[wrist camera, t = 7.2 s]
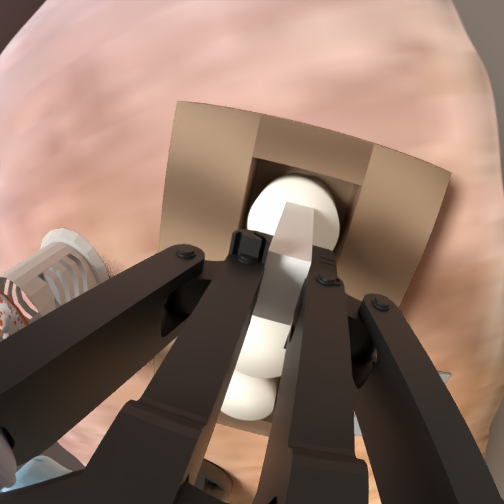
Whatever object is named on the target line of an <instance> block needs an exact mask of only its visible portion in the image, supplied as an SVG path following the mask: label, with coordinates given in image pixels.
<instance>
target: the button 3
mask: <svg viewBox="0 0 504 504" xmlns="http://www.w3.org/2000/svg"><path fill="white" fill-rule="evenodd" d="M286 201H287V202H291V203H295V204H298V205H302V206H306V207H310V208H313V209H314V220H313V242H312V245H315V246H318V247H322V248H326V249H329V250H331V251H333V249H334V247H335V246H336V243H337V241H338V237H339V219H338V214H337V209H336V204H335V201H334V198H333V196H332V194H331V192H330V190H329V189H328V188H327V186H326V185H325V184H324V183H322V182H321V181H320V180H318V179H317V178H315V177H313V176H311V175H308V174H304V173H288V174H284V175H281V176H279V177H277V178H275V179H274V180H272V181H271V182H270V183H269V184H268V185H267V186H266V187H265V188H264V190H263V191H262V192H261V194H260V195H259V196H258V198H257V199H256V201H255V202H254V204H253V205H252V207H251V210H250V212H249V216H248V222H247V228H248V230H255V231H259V232H263V233H266V234H270V235H274V233H275V231H276V228H277V225H278V222H279V220H280V217H281V214H282V211H283V209H284V206H285V203H286Z"/></svg>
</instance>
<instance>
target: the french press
mask: <svg viewBox="0 0 504 504" xmlns="http://www.w3.org/2000/svg"><path fill="white" fill-rule="evenodd" d="M7 279H9V286H8V292H7V295H5V294H4V288H5V283H6V280H7ZM108 279H109V276H108V272H107V269H106V266H105V264H104V262H103V261H102V259H101V258H100V256H99V255H98V253H97V251H96V250H95V248H94V247H93V246H92V245H91V244H90V243H89V242H88V241H86V240H85V239H84V238H83V237H82V236H81V235H80V234H78V233H76V232H73V231H71V230H68V229H66V228H60V229H54V230H51V231H50V232H49V233H48V234H47V235H46V236H45V237H44V238H43V241H42V244H41V248H40V250H39V251H37V252H35V253H34V254H32V255H31V256H29V257H27V258H26V259H24V260H23V261H21V262H20V263H18V264H17V265H15V266H14V267H12V268H10V269H9V270H8V271H6V272H5V273H3V274H2V275H0V342H1V341H2V340H4V339H5V338H7V337H9V336H10V335H12V334H14V333H15V332H17V331H19V330H20V329H22V328H24V327H26V326H27V325H29V324H31V323H32V322H34V321H36V320H37V319H39V318H41V317H43V316H44V315H46V314H48V313H49V312H51V311H53V310H55V309H56V308H58V307H60V306H62V305H63V304H65V303H67V302H69V301H70V300H72V299H74V298H76V297H78V296H79V295H81V294H83V293H85V292H86V291H88V290H90V289H92V288H94V287H96V286H97V285H99V284H101V283H103V282H105V281H106V280H108ZM13 282H14V283H15V284H16V289H15V291H16V295H17V300H18V303H19V304H20V305H21V306H22V307H23V309H24V310H25V311H26V312H27V313H28V314H30V315H31V316H33V318H31V319H28V318H26V317H25V316H24V315H23V314H22V312H21V311H20V310H19V308H18V307H17V306H16V305H15V304H14V302H13V298H12V286H13ZM20 289H21V290H22V291H23V292H24V293H25V294H26V296H27V297H28V299H29V300H30V301H31V302H32V304H33V305H34V306H35V307H36V308H37V310H38V311H39V312H38V313H37V312H35V311H34V310H32V309H31V308H30V307H29V306H28V305H27V304H26V302H25V301H24V300H23V298H22V294H21V290H20Z"/></svg>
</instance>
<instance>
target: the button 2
mask: <svg viewBox="0 0 504 504" xmlns="http://www.w3.org/2000/svg"><path fill="white" fill-rule="evenodd" d="M292 322H293V320H292ZM291 325H292V323H291ZM290 328H291V326H290V325H286V324H282V323H278V322H275V321H271V320H267V319H264V318H260V317H256V316H253V315H252V318H251V322H250V325H249V328H248V331H247V334H246V337H245V340H244V343H243V346H242V349H241V352H240V355H239V358H238V361H237V364H236V367H235V369H236V370H237V371H239V372H241V373H243V374H245V375H248V376H251V377H256V378H274V377H278V376H281V374H282V369H283V363H284V358H285V352H286V349H284V345H285V342H286V339H287V337H288V334H289V331H290Z"/></svg>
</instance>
